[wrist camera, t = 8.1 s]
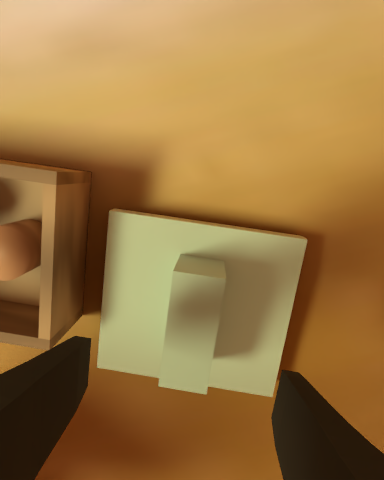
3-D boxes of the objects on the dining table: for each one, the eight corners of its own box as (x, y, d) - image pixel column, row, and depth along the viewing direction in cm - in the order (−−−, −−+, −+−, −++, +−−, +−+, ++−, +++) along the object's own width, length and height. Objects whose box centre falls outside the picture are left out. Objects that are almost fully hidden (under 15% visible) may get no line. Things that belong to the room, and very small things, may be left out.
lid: (267, 377, 20) (283, 439, 15) (106, 350, 21) (75, 403, 16) (298, 233, 18) (327, 254, 13) (119, 206, 18) (86, 218, 14)
